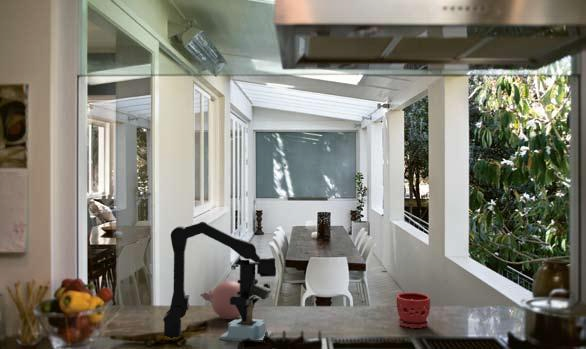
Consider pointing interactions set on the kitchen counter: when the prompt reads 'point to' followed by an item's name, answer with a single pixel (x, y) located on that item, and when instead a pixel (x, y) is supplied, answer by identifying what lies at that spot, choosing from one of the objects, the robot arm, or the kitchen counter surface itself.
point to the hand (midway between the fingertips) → (246, 320)
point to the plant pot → (413, 309)
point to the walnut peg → (248, 315)
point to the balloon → (223, 299)
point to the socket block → (245, 330)
